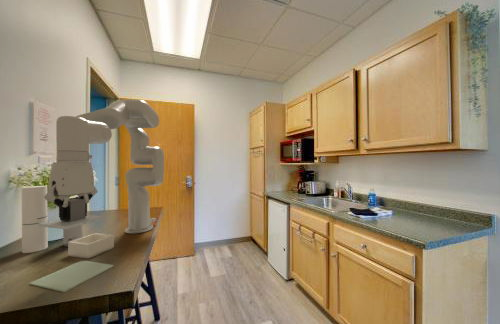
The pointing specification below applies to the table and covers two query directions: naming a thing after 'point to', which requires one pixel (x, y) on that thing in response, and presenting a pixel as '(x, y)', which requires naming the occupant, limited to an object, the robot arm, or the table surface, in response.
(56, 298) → the table surface
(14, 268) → the table surface
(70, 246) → the open square tray
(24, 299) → the table surface
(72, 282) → the mat
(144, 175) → the robot arm
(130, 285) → the table surface
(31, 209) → the cylindrical container
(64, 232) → the travel mug
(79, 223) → the lid
